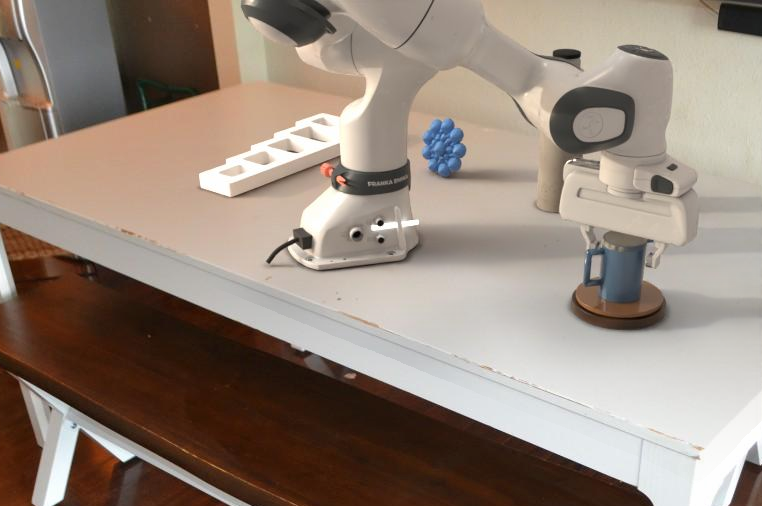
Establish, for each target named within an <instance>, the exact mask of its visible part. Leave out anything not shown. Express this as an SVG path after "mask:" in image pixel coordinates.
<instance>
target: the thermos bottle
mask: <svg viewBox="0 0 762 506" xmlns="http://www.w3.org/2000/svg"><path fill="white" fill-rule="evenodd" d="M552 56H553V57H560V58H564V59H566V60H569V61H571V62H572V63H574V64H575V65H576V66H577V67H578V68H579V69H580V70H581V71H582V72H583V71H585V70H584V69H583V68H582V67H581V65H582V64H581V63H582V60H581V57H582V52H581V51H580V50H578V49H574V48H558V49H554V50H552ZM538 146H539V150H538V152H539V153H538V157H539V158H538V170H537V187H536V189H537V190H536V207H538V208H539V209H540V210H542V211H545V212H549V213H555V214H556V213H557V214H558V213H559V206H560V199H561V194H562V189H563V186H564V180H563V170H564V165H565V163H566V162H567V161H568V160H571V159H574V157H581V158H584V156H583V155H584V154H583V155H575V154H570V153H567V152H565V151H563V150H561V149H560V148H558V147H557V146H556V145H555V144H554V143H553V142H551V141H550V140H549V139H548V138H547V137H546V136H545V135H544V134H543V133H542V132H541V131H539V145H538ZM571 163H573V162H571ZM559 214H560V213H559Z"/></svg>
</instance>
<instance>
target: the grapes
mask: <svg viewBox="0 0 762 506" xmlns="http://www.w3.org/2000/svg"><path fill="white" fill-rule="evenodd" d="M455 126H456V125H455V122H454V120H453V119H452V118H449V117H447V118H444V119H443V120H441V119H438V118H436V119H434V120H432V121H431V123H430V126H429V129H427V130H425V132H424V133H423V135H422V142H423V143H424V144H425V145H424V146H423V147H422V150H421V156H422V157H423V159H425V160H427V161H428V163H427V168H428V170H429V171H430V172H431V173H437V172H438V174H439V175H440V176H441V177H442V178H446V177H449V176H450V175H451V173H452V172H453V173H455V172H459V170H460V169H461V167H462V163H463V162H462V159H463V158H464V157H465V156H466V154H467V146H466V145H465V144H464V143H462V141H463V139H464V137H465V133H464V131H463V130H462V129H461V128H460V127H455Z"/></svg>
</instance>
